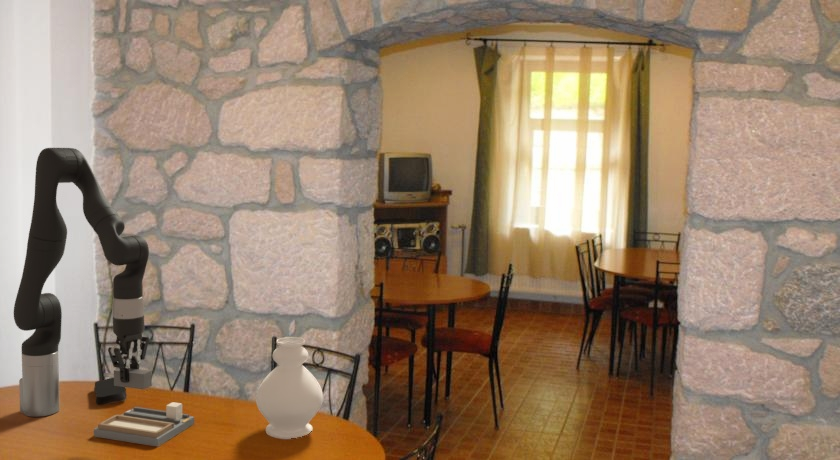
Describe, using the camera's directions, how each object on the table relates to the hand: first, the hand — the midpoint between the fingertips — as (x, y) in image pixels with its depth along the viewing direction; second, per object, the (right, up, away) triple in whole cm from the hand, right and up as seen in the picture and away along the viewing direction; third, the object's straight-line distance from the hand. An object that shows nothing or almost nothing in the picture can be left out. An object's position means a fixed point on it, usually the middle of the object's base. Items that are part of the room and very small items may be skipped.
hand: (129, 379), depth 204 cm
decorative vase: (+39, -16, +11) cm, 44 cm away
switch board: (+1, -15, +8) cm, 17 cm away
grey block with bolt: (-1, -1, 0) cm, 2 cm away
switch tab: (+8, -13, +11) cm, 19 cm away
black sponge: (-18, -12, +33) cm, 39 cm away
